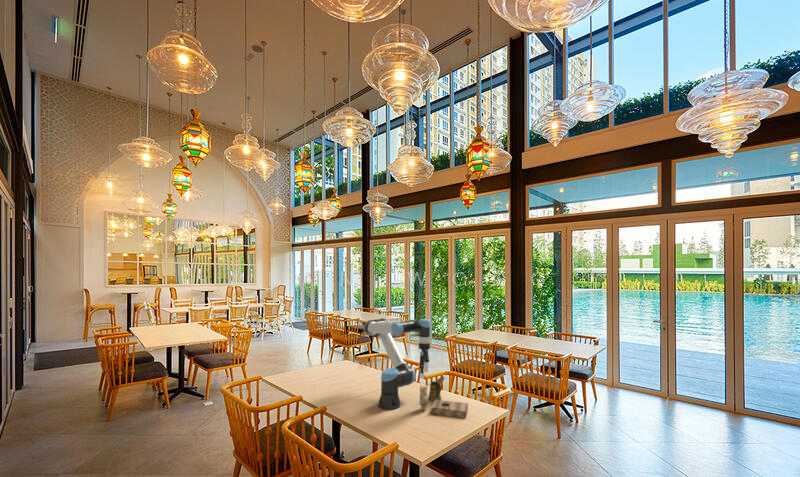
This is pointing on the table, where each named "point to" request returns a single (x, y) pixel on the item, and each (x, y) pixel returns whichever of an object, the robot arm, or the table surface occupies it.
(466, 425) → the table surface
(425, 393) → the dowel
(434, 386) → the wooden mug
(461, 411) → the board
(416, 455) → the table surface
